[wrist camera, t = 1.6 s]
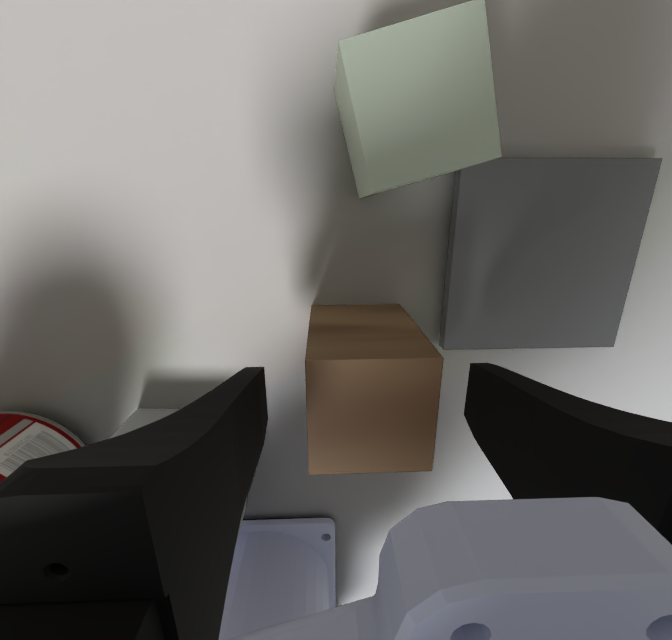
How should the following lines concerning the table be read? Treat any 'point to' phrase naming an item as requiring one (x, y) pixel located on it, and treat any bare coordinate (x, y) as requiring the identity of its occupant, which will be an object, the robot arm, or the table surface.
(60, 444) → the soda can
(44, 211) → the table surface
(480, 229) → the slate coaster
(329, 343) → the walnut block
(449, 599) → the robot arm
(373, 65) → the sage block
